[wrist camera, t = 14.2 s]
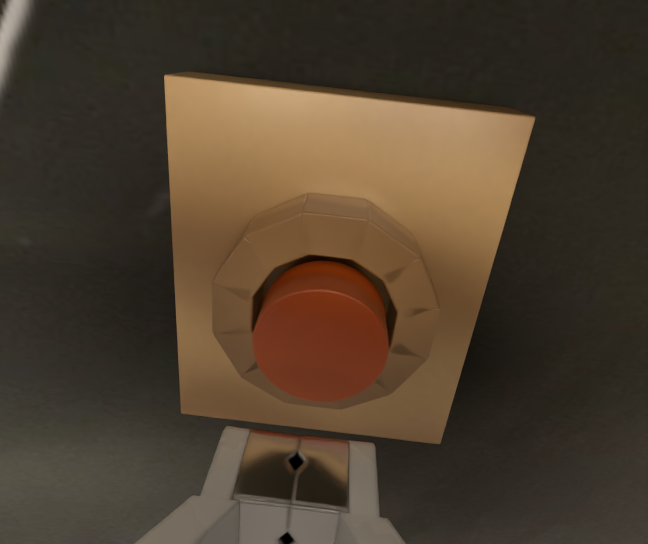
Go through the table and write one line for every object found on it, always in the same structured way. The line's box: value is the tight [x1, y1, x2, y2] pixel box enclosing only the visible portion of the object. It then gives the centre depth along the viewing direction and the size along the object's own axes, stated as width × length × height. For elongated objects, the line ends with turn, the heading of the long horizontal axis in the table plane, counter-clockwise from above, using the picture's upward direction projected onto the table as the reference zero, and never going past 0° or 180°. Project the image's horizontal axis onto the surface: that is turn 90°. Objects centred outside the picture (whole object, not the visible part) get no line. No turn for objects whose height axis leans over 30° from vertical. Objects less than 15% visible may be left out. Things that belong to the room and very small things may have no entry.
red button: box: [252, 261, 389, 402], centre depth 13 cm, size 4×4×2 cm
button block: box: [164, 71, 535, 444], centre depth 15 cm, size 12×10×4 cm
